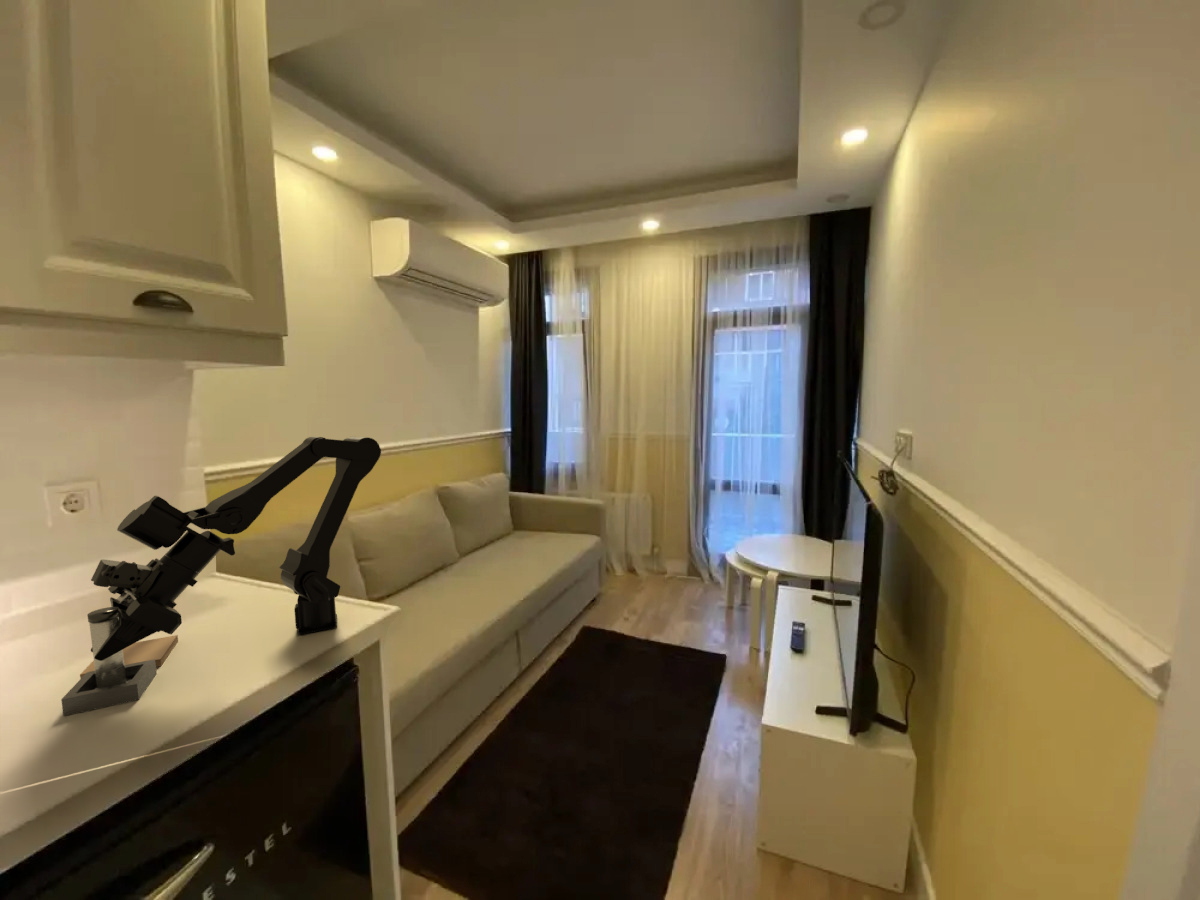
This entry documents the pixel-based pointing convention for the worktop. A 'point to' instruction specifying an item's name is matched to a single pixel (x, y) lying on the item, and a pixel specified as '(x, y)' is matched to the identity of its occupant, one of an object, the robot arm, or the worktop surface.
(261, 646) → the worktop surface
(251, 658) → the worktop surface
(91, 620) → the capped metal cylinder
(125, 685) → the holder
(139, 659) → the walnut pad
